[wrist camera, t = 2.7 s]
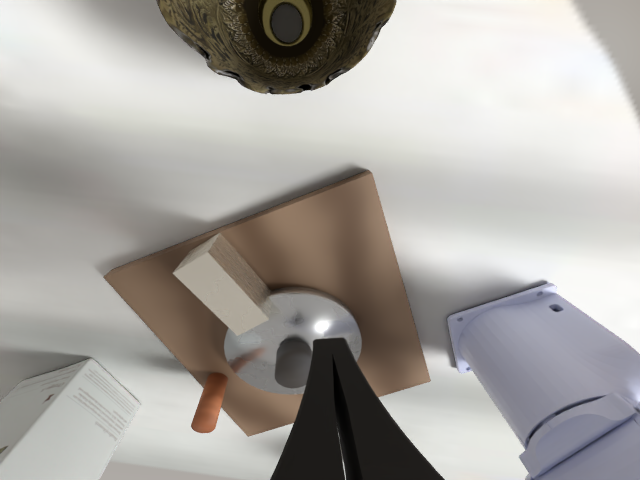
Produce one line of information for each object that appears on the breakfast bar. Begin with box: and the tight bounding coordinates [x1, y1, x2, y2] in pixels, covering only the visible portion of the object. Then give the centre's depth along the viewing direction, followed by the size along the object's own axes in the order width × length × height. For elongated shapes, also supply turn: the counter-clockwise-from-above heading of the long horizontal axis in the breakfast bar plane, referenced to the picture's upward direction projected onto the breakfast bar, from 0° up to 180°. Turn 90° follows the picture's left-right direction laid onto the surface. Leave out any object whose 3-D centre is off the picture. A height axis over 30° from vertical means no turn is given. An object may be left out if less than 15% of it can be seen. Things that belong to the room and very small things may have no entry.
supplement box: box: [0, 358, 140, 480], centre depth 19 cm, size 7×7×13 cm
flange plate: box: [173, 232, 362, 395], centre depth 20 cm, size 16×11×3 cm, turn 31°
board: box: [104, 170, 431, 437], centre depth 21 cm, size 20×22×5 cm
